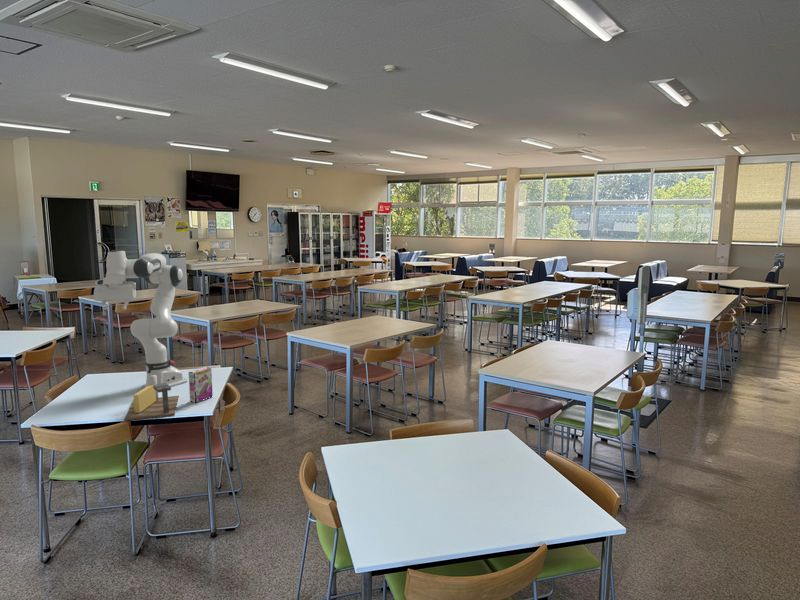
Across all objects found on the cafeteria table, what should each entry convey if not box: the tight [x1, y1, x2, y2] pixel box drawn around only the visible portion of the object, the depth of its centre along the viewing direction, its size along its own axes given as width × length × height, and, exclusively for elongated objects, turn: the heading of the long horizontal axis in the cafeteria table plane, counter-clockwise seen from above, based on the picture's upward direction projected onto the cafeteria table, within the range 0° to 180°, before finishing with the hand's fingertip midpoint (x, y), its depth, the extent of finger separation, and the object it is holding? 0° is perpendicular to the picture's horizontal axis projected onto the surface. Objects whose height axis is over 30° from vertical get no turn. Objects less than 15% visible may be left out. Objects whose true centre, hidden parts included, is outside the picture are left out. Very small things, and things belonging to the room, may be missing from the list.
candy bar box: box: [188, 366, 213, 403], centre depth 282 cm, size 11×5×16 cm, turn 149°
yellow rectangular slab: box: [133, 375, 159, 413], centre depth 270 cm, size 20×3×13 cm, turn 178°
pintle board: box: [123, 383, 180, 422], centre depth 270 cm, size 28×22×14 cm
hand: (114, 309), depth 263 cm, fingers open, 8 cm apart
